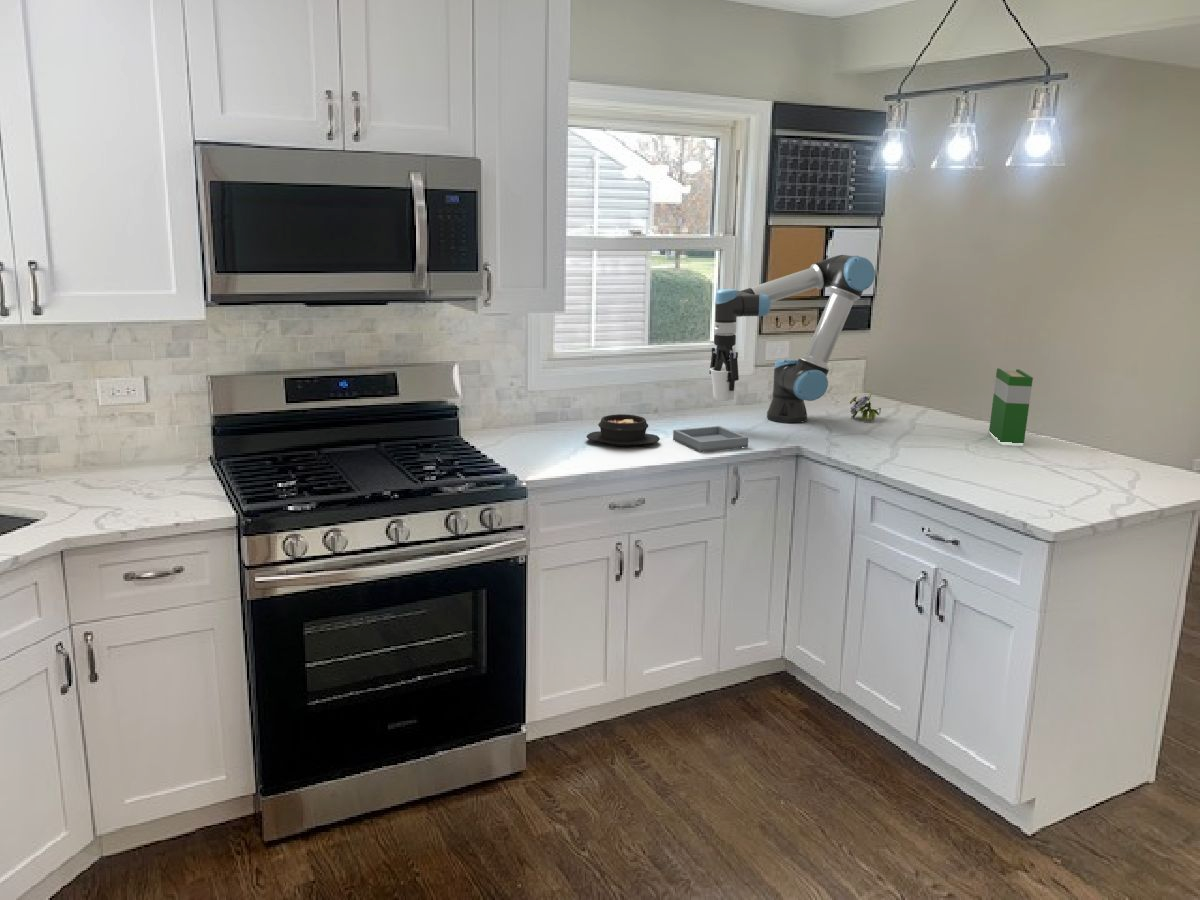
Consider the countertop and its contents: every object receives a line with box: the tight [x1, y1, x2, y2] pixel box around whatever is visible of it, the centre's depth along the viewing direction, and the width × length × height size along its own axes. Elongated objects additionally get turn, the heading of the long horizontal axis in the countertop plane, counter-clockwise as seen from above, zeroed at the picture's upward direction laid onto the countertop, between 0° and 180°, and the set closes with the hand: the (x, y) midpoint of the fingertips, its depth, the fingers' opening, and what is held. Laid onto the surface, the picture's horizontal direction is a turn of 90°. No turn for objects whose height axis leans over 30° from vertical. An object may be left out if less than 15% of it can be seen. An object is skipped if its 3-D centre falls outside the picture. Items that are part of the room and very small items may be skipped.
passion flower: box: [849, 393, 882, 422], centre depth 345 cm, size 11×11×12 cm
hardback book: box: [988, 367, 1034, 444], centre depth 313 cm, size 18×7×24 cm, turn 169°
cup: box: [709, 366, 730, 402], centre depth 320 cm, size 10×10×11 cm
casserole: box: [586, 413, 661, 447], centre depth 303 cm, size 25×19×8 cm
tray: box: [672, 425, 749, 453], centre depth 304 cm, size 18×18×4 cm
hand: (723, 397), depth 321 cm, fingers closed on cup, 8 cm apart
